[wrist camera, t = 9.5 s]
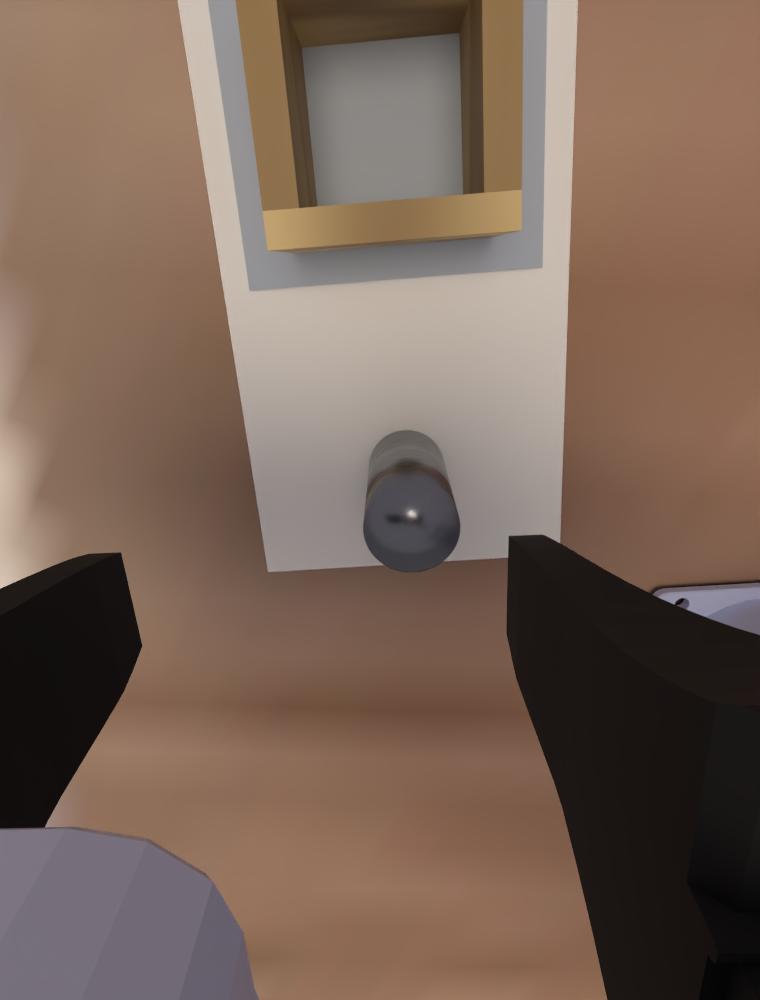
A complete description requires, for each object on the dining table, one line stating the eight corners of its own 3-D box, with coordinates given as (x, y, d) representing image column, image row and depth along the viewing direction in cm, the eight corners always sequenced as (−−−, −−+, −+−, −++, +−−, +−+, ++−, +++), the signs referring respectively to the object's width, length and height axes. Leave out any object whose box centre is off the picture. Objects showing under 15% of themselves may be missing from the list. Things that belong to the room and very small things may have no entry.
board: (568, -61, 16) (583, -87, 15) (552, 541, 22) (561, 557, 21) (183, -22, 16) (168, -44, 15) (273, 559, 22) (266, 574, 21)
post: (439, 419, 20) (459, 479, 15) (442, 488, 21) (461, 569, 16) (367, 425, 20) (358, 486, 15) (373, 492, 21) (367, 575, 16)
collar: (490, -9, 15) (524, -98, 11) (492, 237, 17) (521, 230, 13) (266, 12, 15) (226, -67, 12) (293, 253, 17) (267, 250, 14)
